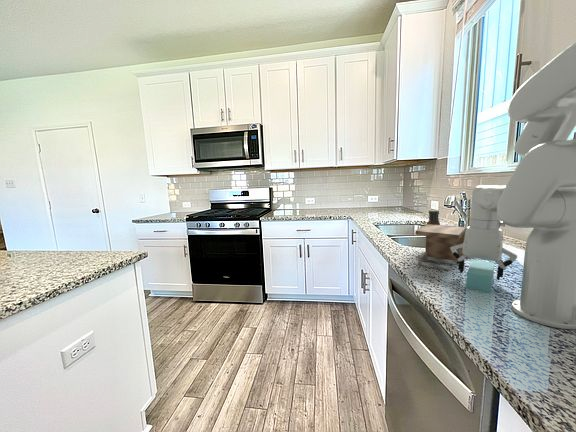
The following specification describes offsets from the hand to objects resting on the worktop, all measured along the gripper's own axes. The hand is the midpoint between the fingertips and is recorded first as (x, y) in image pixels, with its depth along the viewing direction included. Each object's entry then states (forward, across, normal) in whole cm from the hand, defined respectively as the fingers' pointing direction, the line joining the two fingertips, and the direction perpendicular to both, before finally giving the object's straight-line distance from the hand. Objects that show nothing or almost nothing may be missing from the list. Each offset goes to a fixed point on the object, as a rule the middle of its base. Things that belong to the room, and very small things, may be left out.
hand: (479, 275), depth 83 cm
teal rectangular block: (+2, 0, 0) cm, 2 cm away
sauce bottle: (+3, +20, -28) cm, 35 cm away
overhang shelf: (+3, +14, -12) cm, 18 cm away
